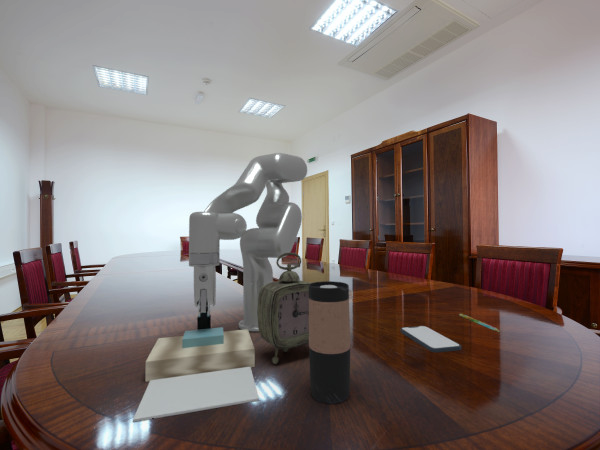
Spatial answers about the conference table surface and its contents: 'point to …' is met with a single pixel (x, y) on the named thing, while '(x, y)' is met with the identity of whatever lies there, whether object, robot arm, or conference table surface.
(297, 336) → the tabletop clock
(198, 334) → the blue rectangular block
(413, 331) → the phone case
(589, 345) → the conference table surface
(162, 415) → the mat
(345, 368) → the travel mug
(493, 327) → the pencil
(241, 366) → the beige flat block
